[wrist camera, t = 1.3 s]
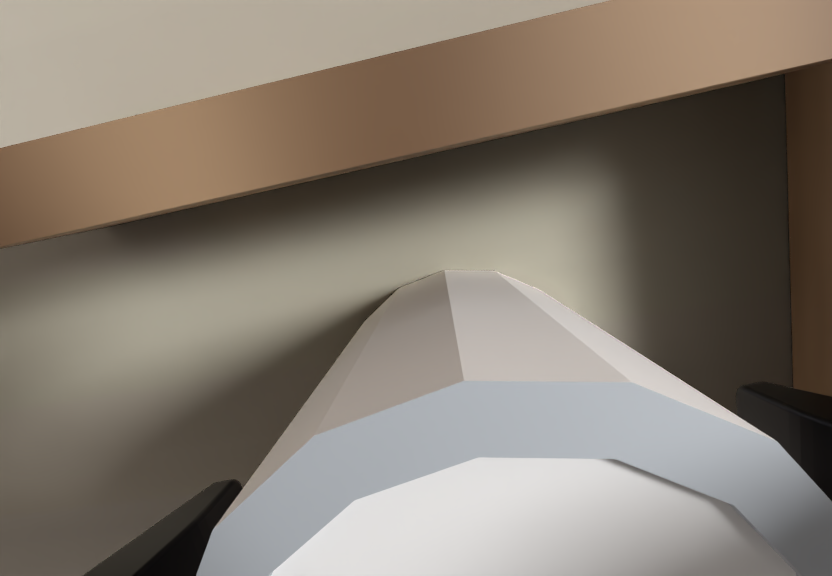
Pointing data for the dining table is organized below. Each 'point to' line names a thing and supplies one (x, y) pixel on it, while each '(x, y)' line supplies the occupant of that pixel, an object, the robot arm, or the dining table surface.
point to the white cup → (515, 457)
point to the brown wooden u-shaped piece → (459, 124)
